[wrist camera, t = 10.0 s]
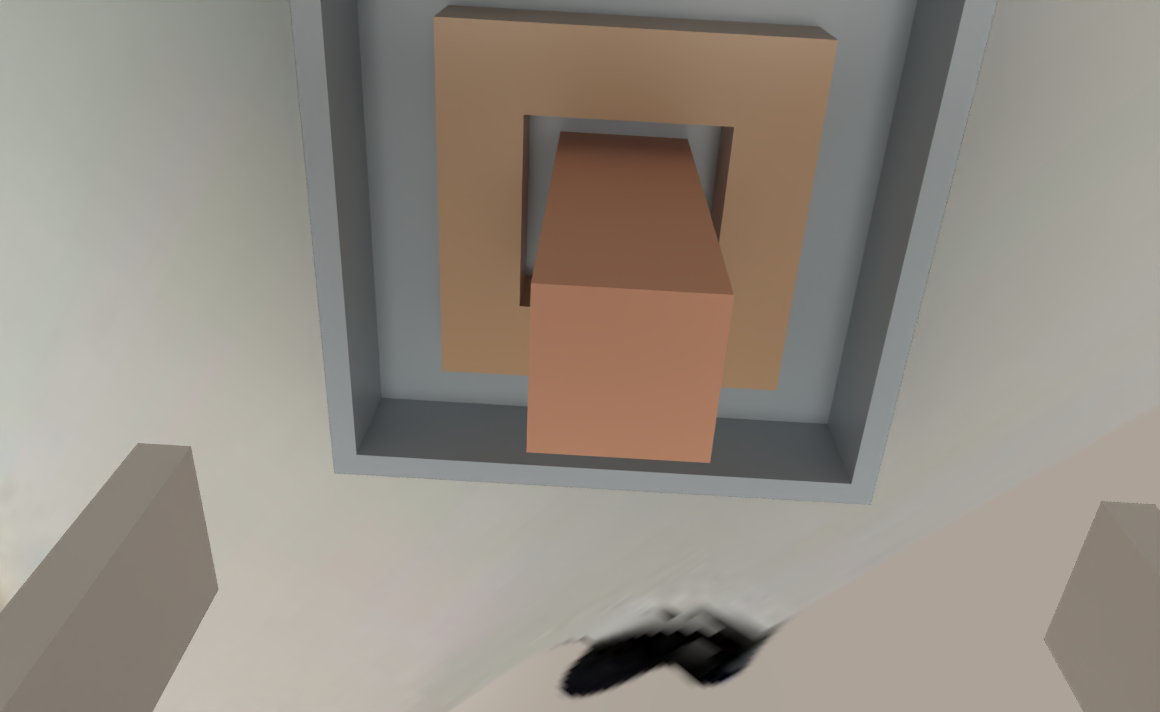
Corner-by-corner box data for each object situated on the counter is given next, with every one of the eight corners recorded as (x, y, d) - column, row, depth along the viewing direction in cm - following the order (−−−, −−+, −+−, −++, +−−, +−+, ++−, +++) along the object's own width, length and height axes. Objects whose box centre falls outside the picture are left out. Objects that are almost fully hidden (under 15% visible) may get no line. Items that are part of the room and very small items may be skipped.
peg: (560, 131, 28) (530, 283, 18) (687, 138, 28) (734, 294, 18) (555, 250, 30) (526, 452, 20) (674, 257, 30) (709, 462, 20)
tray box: (327, -137, 26) (276, -139, 22) (957, -101, 26) (1021, -96, 22) (366, 403, 34) (334, 473, 30) (840, 432, 34) (870, 504, 30)
